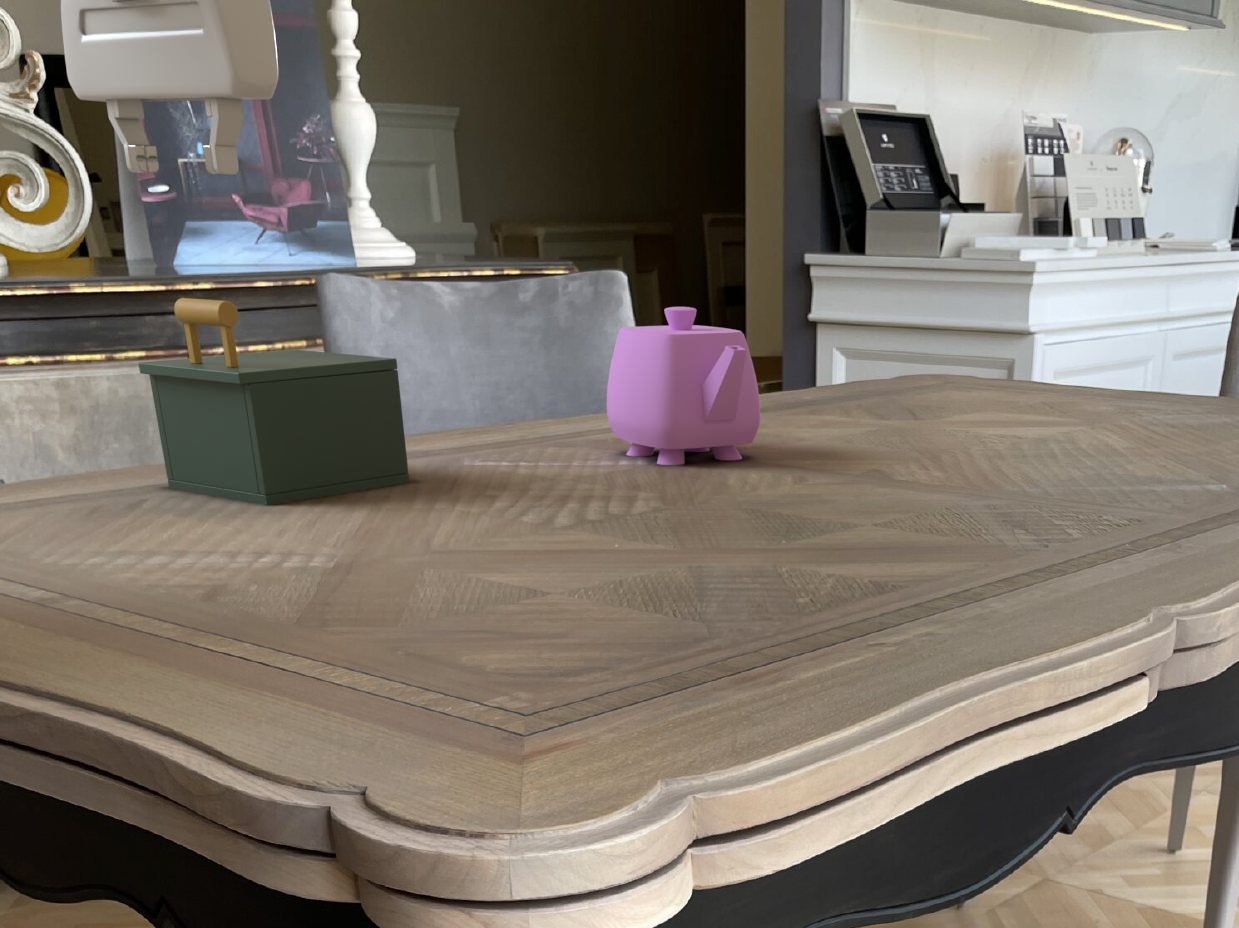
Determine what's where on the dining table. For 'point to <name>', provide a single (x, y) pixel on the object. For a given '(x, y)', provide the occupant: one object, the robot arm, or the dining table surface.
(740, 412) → the teapot
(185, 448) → the chest
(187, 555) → the dining table surface
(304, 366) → the lid
